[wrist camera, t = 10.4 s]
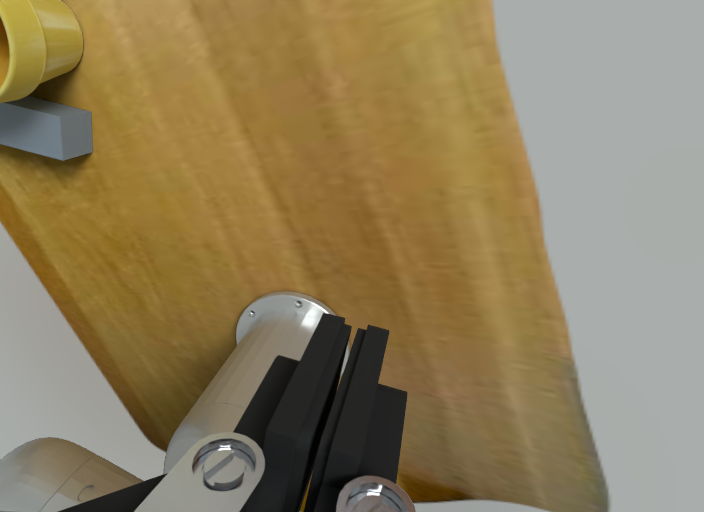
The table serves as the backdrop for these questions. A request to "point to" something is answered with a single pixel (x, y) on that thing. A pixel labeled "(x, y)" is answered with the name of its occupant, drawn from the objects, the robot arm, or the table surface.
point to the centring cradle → (46, 128)
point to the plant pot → (36, 44)
